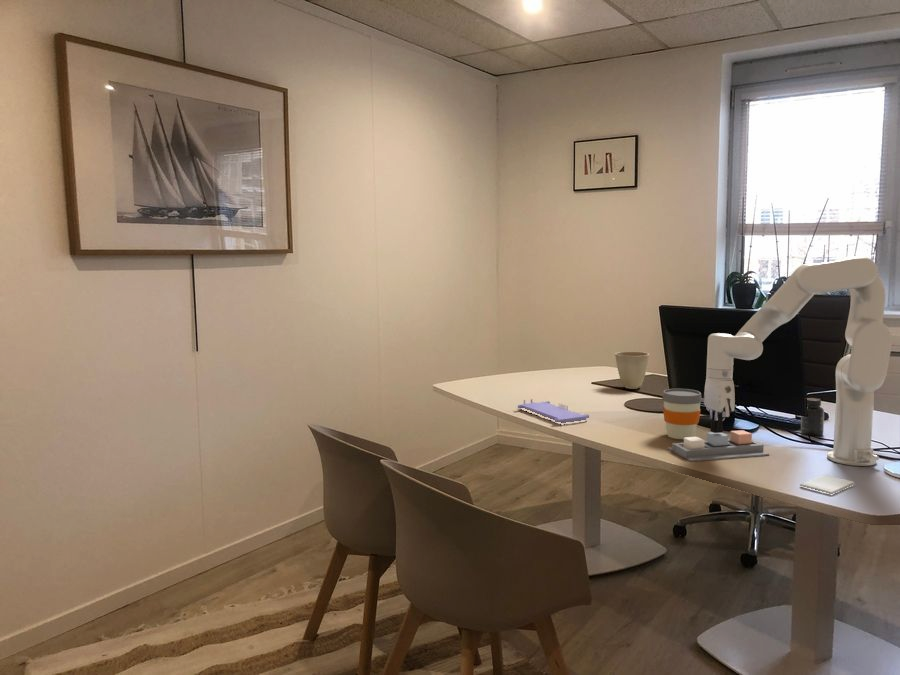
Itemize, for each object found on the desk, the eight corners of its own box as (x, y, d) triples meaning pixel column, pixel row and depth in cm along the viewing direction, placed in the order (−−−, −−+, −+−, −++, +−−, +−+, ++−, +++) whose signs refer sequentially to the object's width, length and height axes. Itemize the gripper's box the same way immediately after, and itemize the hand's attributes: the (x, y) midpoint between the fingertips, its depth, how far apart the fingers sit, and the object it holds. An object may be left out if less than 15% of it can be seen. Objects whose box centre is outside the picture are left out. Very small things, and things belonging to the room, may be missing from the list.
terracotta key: (751, 443, 214) (751, 433, 214) (738, 444, 213) (738, 434, 213) (742, 439, 218) (743, 430, 218) (730, 440, 218) (730, 431, 217)
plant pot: (647, 385, 320) (648, 351, 318) (649, 392, 306) (650, 356, 304) (614, 384, 324) (615, 350, 322) (614, 390, 309) (615, 355, 307)
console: (769, 455, 210) (769, 447, 210) (690, 461, 205) (691, 453, 205) (741, 443, 224) (741, 435, 224) (667, 448, 219) (667, 441, 219)
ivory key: (704, 449, 211) (704, 440, 211) (691, 450, 210) (691, 441, 210) (696, 445, 216) (696, 436, 215) (683, 446, 215) (683, 437, 214)
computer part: (545, 406, 282) (514, 410, 276) (545, 396, 282) (514, 400, 275) (590, 422, 256) (557, 427, 249) (590, 411, 255) (557, 415, 249)
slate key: (728, 444, 213) (728, 435, 212) (715, 445, 212) (715, 436, 211) (719, 441, 217) (720, 431, 217) (707, 442, 216) (707, 432, 216)
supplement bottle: (813, 430, 237) (815, 396, 236) (827, 436, 231) (829, 400, 229) (795, 432, 236) (797, 397, 235) (809, 437, 229) (811, 401, 228)
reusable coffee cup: (698, 431, 239) (699, 389, 237) (702, 441, 227) (704, 396, 225) (660, 430, 241) (661, 388, 240) (662, 439, 229) (664, 395, 227)
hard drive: (822, 474, 189) (799, 483, 182) (854, 481, 183) (832, 491, 176) (822, 479, 190) (799, 489, 182) (854, 487, 183) (831, 497, 176)
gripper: (745, 377, 205) (742, 437, 207) (716, 369, 220) (714, 425, 222) (722, 378, 204) (719, 439, 206) (695, 370, 218) (692, 426, 221)
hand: (716, 432), depth 214 cm, fingers closed
